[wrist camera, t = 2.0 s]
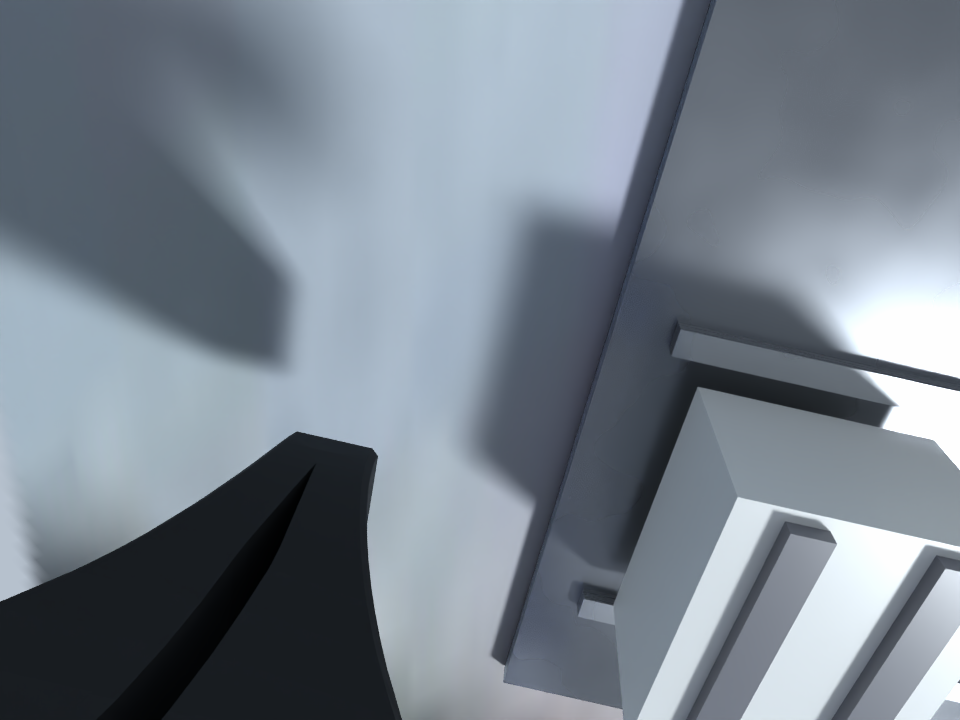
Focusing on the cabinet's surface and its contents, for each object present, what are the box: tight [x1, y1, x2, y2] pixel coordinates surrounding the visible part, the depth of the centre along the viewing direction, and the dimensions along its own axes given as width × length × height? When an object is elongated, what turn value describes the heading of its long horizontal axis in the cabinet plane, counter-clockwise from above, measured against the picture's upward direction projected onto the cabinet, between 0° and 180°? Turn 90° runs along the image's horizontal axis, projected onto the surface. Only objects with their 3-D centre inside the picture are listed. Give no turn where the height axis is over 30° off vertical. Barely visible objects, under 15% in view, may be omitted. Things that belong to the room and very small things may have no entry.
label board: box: [503, 0, 960, 720], centre depth 13 cm, size 16×12×1 cm
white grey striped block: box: [613, 387, 960, 720], centre depth 12 cm, size 5×4×3 cm
